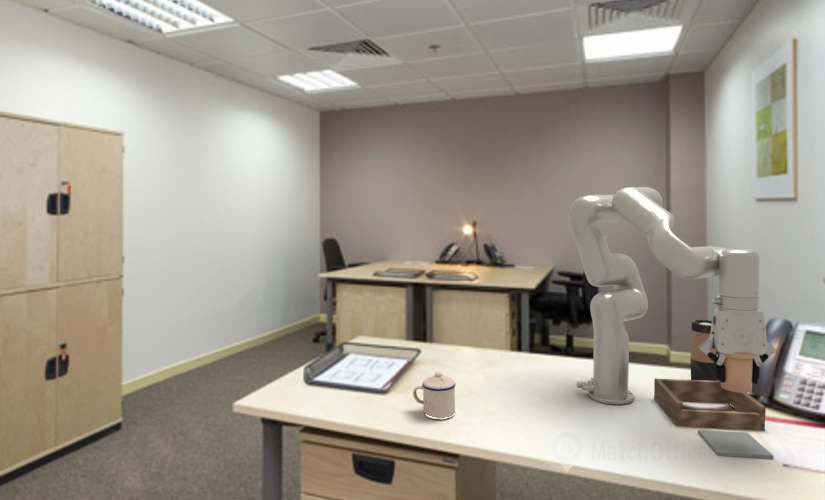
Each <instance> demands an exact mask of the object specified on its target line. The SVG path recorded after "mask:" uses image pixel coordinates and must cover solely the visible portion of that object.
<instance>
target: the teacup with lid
mask: <svg viewBox="0 0 825 500" xmlns="http://www.w3.org/2000/svg"><path fill="white" fill-rule="evenodd" d="M417 390H423V391H422V392H423V393H422V395H423V396H422V397H423V400H422V399H420V398H419V397H418V394H417ZM455 391H456V381H455V380H454V379H453V378H451V377H449V376H446V375H443V372H442V371H435V373H434V375H432V376H429V377H427V378H425V379H423V380H422V385H418V386H416V387H415V388H414V389H413V391H412V394H413V398H414V400H415V402H417V403H418V404H420V405H423V414H424V413H425V414H427V415H429V416H432V417H436V418H445V417H450V416H452V415H453V414H454V413H455V414H456V392H455Z"/></svg>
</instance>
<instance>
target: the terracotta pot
mask: <svg viewBox="0 0 825 500" xmlns="http://www.w3.org/2000/svg"><path fill="white" fill-rule="evenodd" d="M719 354H720V353H719ZM725 356H726V358H725V360H724V362H723V365H724V366H725V382H724V383H720V386H721V388H723V389H725V390H728V391H732V392H737V393H747V394H749V393H752V392H753V383H752V372H753V358H755V355H753V353H734V354H731V355H725Z"/></svg>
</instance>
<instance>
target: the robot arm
mask: <svg viewBox="0 0 825 500" xmlns="http://www.w3.org/2000/svg"><path fill="white" fill-rule="evenodd" d="M663 203H664V202H663V198H662V195H661V193H660V192H659V191H657V190H656V189H654V188H652V187H649V186H643V187H642V186H641V187H640V186H628V187H624V188H620V189H619V190H617V191H616V192H615V193H614V194H589V195H584V196H581V197H578V198H577V199H575V200H574V201H573V202H572V204H571V205H570V208H569V210H568V213H567V214H568V215H567V222H568V228H569V231H570V233H571V235H572V237H573V240H574V242H575V244H576V247H577V251H578V255H579V258H580V262H581V265H582V267H583V272H584V274H585V277H586V280H587V282H588V283H589V284H590V285H591V286H593V287H599V288H601V287H603V288H604V287H612V286H613V289H608V290H604V291H601V292H598V293H597V294H595V295H594V296H593V297H592V299H591V301H590V304H589V306H590V307H589V310H590V316H591V320H592V328H593V329H592V331H593V369H592V370H593V376H592V377H591V378H590V380H587V381H582V380H577V381H576V387H577V388H579V389H582V390H583V391H587V396H589V397H590V398H591V399H592V400H594V401H596V402H599V403H603V404H608V405H627V404H631V403H632V402H634V400H635V395H634V393H633V392H631V391H630V390H629V374H630V373H629V371H630V370H629V367H630V366H629V364H630V363H629V360H630V359H629V357H630V355H629V354H630V337H629V334H628V333H629V332H628V331H627V329H626V325H625V323H624V322H628V321H634V320H637V319H640V318H643V317H644V316H645V315H646V313H647V311H648V308H649V300H648V296H647V294H646V290H645V288H644V287H645V286H644V284H643V281H642V278H641V275H640V273H639V270H638V267H637V265H636V263H635V262H634V260H633V259H632V258H631V257H630V256H629V255H627V254H624V253H612V252H611V249H610V247H609V245H608V241H607V238H606V237H605V235H604V233H602V231H601V230H600V229H599V228H598V226H597V224H612V223H623V222H625V223H627V224H628V225H630V226H631V227H632V228H634V229H635V230H636V231H637V232H638V233H639V234H640V235H642V236H643V237H644V238H645V239H646V240H647V243H648V247H649V249H650V251H651V253H652V255H653V256H654V257H655V259H656V260H657V261H658V262H659V263H660V264H661V265H663V266H664V267H665V268H666V269H668V270H669V271H670V272H672V274H673V275H676V276H678V277H680V278H681V279H683V280H688V281H690V280H691V281H693V280H699V279H709V278H715V277H718V293H717V295H716V297H712V299H711V304H712V305H716V306H717V307H715V308H714V311H713V316H712V320H711V321H712V324H711V333H710V337H709V338H708V339H707V340H706V341H705V342H704V343H702V344H701V345H700V346H699V348H700V350H702V351H703V352H704V353H705V354H706V355H707V356H708V357H709V358H710V359H711V360H712V361H713V362H714V376H715V377H716V379H717V380H718V381H720V382H721V383H724V382H725V366H724V365H723V362H724V360H725V358H726V356H725V355H731V354H734V353H753V355H755V358H753V372H752V384H755V385H757V384H758V380H759V379H760V367H762V366H763V363H764V362H766V361H767V360H768V359H769V357H770V356H772V355H774V354H775V353H776V351H777V349H776V348H775V346H773V345H772V344H771V343H770V342H769V341H768V338H767V326H766V320H765V315H764V311H763V310H761V309H759V296H760V295H759V292H760V291H759V289H760V287H759V286H760V254H759V252H758V251H757V250H755V249H752V248H725V247H722V246H714V245H707V246H695V247H694V246H693V247H691V246H689V245H688V244H686V242H684V241H682V240H681V239H680V238H679V237H677V236H676V235H675V234H674V233H673V231H672V229H673V227H674V225H675V217H674V216H675V215H673V214H672V213H671V212H669V210H667V209H665V208H664V207H663V205H664V204H663ZM710 347H712V348H713V349H716V351H715V353H714V354H713V353H712V352H711V351H710V350H709V348H710ZM719 353H720V354H719Z"/></svg>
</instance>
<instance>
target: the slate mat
mask: <svg viewBox="0 0 825 500" xmlns="http://www.w3.org/2000/svg"><path fill="white" fill-rule="evenodd" d="M697 434H698V435H699V436H700V438H701V439H702V440H703V441H704V442H705V443H706V445H708V446H709V448H711V450H712V451H713V452H714V453H715V454H716V455H717V456H718V457H732V458H735V457H736V458H747V459H748V458H751V459H753V458H754V459H764V460H765V459H767V460H774V454H772V453H771V452H770V451H769V450H768V449H767V448H765V447H764V446H763V445H762V444H761V443H760V442H759V441H758V440H757V439H755V438H754V437H753V436H752V435H751V434H750V433H749V432H745V431H744V432H740V431H726V430H724V431H723V430H722V431H721V430H720V431H719V430H703V429H697Z"/></svg>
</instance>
